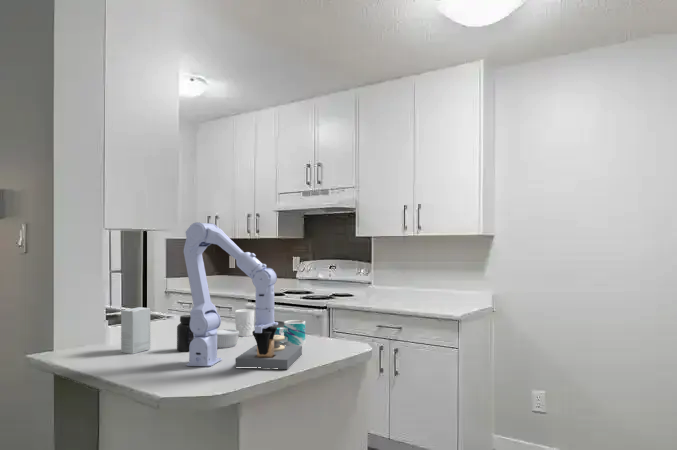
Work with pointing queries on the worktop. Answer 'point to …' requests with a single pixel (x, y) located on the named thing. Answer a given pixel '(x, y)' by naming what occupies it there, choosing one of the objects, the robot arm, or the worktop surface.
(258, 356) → the wooden block
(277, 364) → the notched board
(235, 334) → the ramekin
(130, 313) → the skincare box
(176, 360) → the worktop surface
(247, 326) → the white cup
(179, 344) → the supplement bottle
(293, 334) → the mug
